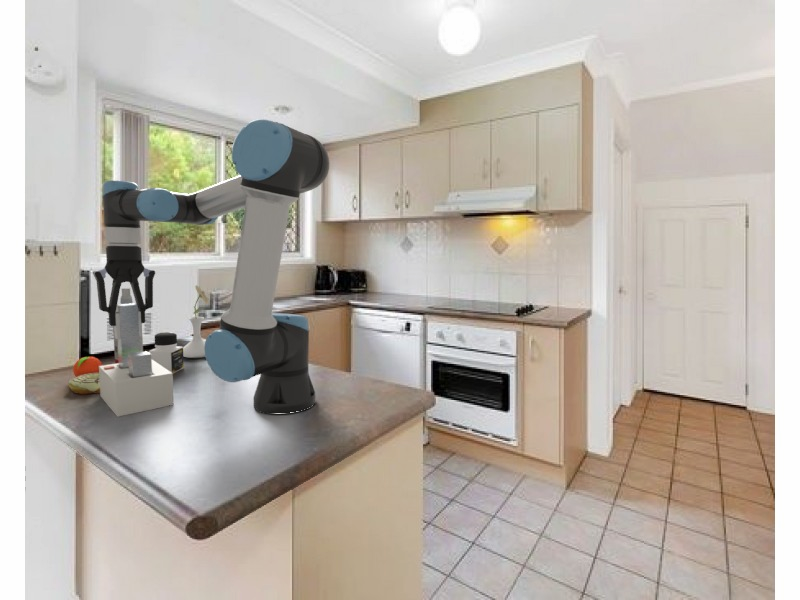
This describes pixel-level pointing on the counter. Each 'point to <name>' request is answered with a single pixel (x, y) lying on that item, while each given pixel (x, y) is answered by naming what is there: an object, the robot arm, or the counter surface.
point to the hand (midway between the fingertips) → (128, 336)
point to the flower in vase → (196, 332)
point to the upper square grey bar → (128, 332)
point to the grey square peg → (139, 364)
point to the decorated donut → (85, 383)
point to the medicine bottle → (168, 352)
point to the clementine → (86, 366)
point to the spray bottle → (124, 299)
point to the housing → (135, 389)
